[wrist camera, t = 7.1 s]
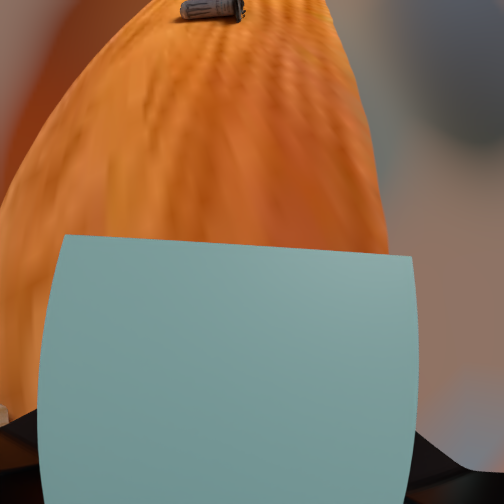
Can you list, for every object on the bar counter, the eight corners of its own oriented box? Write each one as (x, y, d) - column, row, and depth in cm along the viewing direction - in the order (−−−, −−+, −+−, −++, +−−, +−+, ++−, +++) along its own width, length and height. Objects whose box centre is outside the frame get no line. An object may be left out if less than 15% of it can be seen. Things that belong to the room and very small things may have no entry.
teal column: (281, 428, 13) (382, 570, 2) (192, 421, 13) (51, 535, 2) (287, 344, 15) (411, 256, 3) (199, 337, 15) (64, 234, 3)
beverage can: (246, 17, 45) (188, 21, 45) (245, -16, 38) (184, -10, 39) (244, 25, 40) (177, 31, 40) (242, -13, 33) (172, -5, 34)
